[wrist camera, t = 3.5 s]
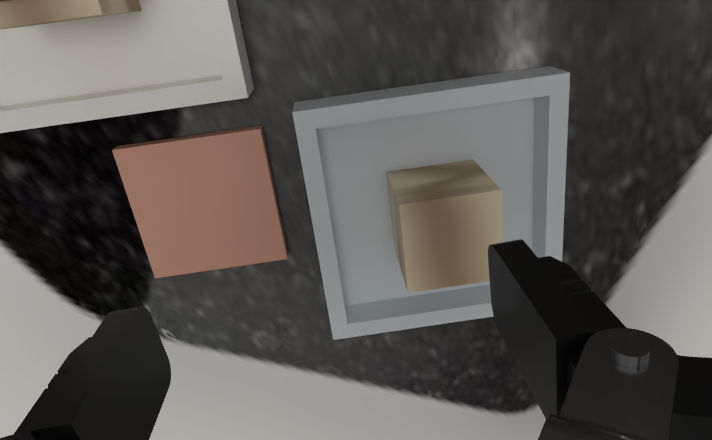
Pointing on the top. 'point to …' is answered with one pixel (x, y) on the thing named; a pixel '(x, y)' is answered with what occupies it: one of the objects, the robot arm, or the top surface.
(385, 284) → the blue tray
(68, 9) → the letter cube
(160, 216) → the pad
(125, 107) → the white tray
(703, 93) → the top surface
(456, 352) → the top surface
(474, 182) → the plain cube
